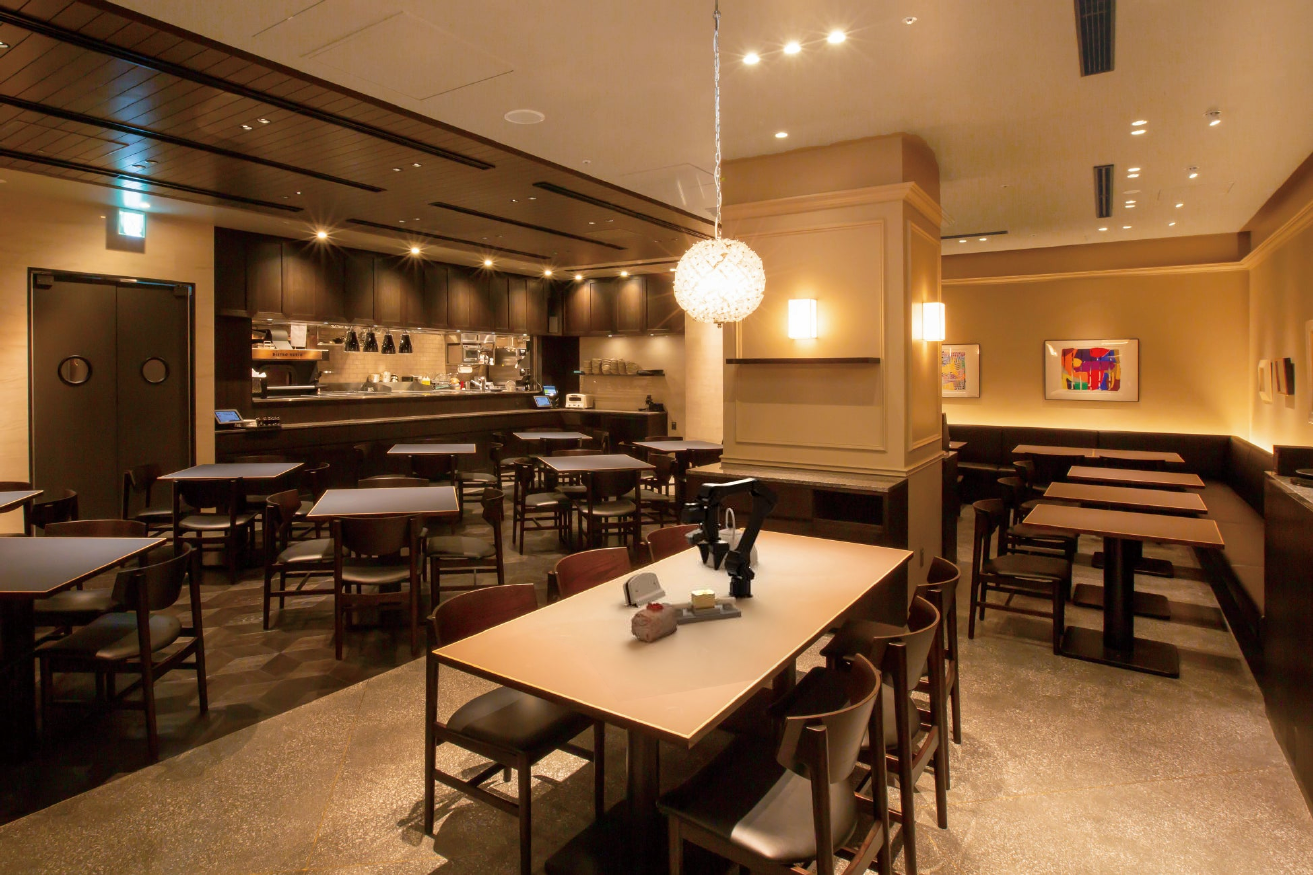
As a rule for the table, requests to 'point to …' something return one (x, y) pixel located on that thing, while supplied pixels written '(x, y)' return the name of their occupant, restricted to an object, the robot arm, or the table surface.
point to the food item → (654, 621)
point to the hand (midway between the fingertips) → (710, 567)
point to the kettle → (732, 542)
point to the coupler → (702, 600)
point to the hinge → (642, 589)
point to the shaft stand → (706, 611)
